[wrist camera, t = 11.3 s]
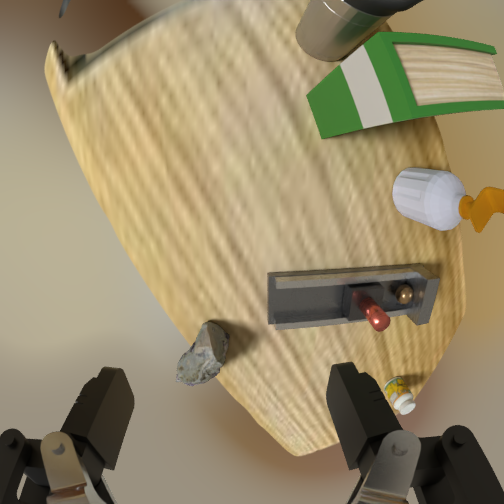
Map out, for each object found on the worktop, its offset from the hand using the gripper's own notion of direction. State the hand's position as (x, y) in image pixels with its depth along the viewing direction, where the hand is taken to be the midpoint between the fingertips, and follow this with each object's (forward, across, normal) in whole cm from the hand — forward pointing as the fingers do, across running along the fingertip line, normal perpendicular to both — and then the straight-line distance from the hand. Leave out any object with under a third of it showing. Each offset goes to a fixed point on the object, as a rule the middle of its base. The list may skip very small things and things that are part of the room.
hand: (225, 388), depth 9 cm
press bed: (+34, -20, +14) cm, 42 cm away
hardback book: (+34, -21, -18) cm, 44 cm away
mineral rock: (+34, +8, +24) cm, 43 cm away
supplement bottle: (+34, -37, +42) cm, 66 cm away
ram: (+32, -21, +14) cm, 41 cm away
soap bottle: (+34, -31, -4) cm, 46 cm away
